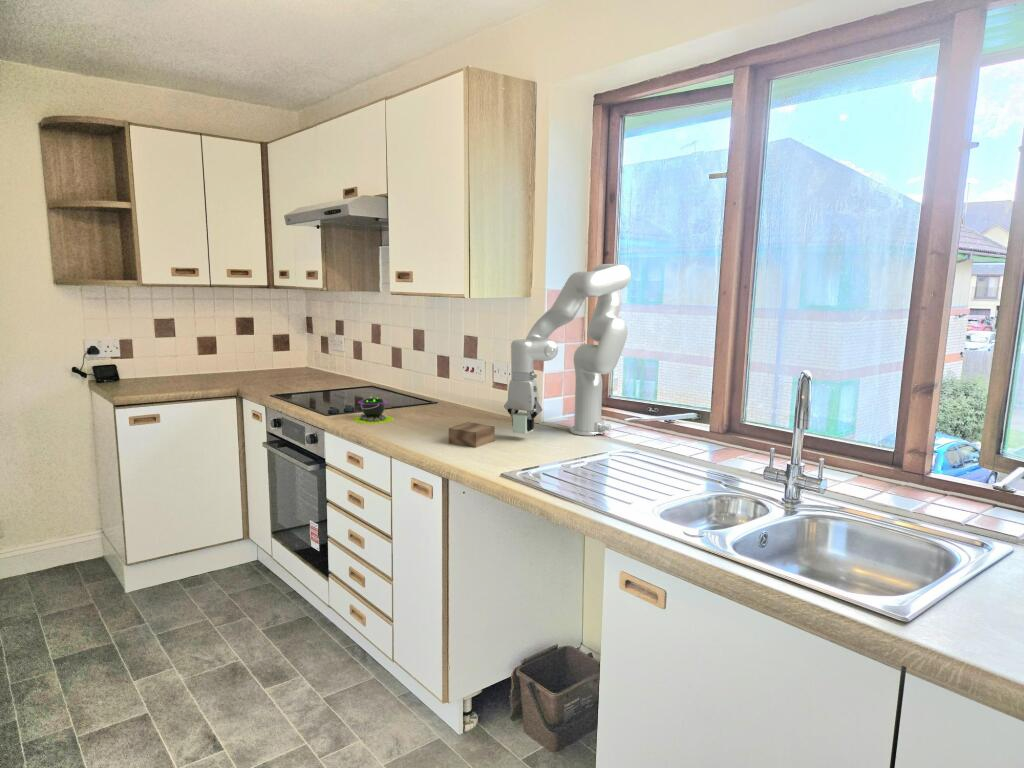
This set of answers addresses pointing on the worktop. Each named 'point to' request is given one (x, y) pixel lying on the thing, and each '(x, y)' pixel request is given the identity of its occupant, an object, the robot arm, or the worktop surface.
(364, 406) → the toy cauldron
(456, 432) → the block
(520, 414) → the sage block
